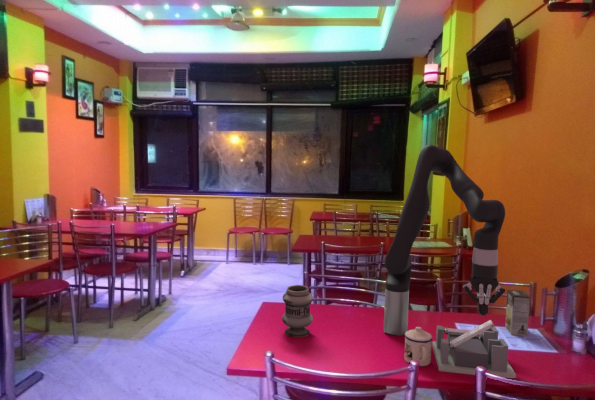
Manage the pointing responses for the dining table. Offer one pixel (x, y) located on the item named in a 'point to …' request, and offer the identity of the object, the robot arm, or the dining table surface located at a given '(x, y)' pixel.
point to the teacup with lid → (418, 346)
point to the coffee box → (517, 312)
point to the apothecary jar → (297, 310)
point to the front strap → (471, 334)
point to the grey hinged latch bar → (458, 332)
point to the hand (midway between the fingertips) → (482, 314)
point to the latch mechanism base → (473, 354)
